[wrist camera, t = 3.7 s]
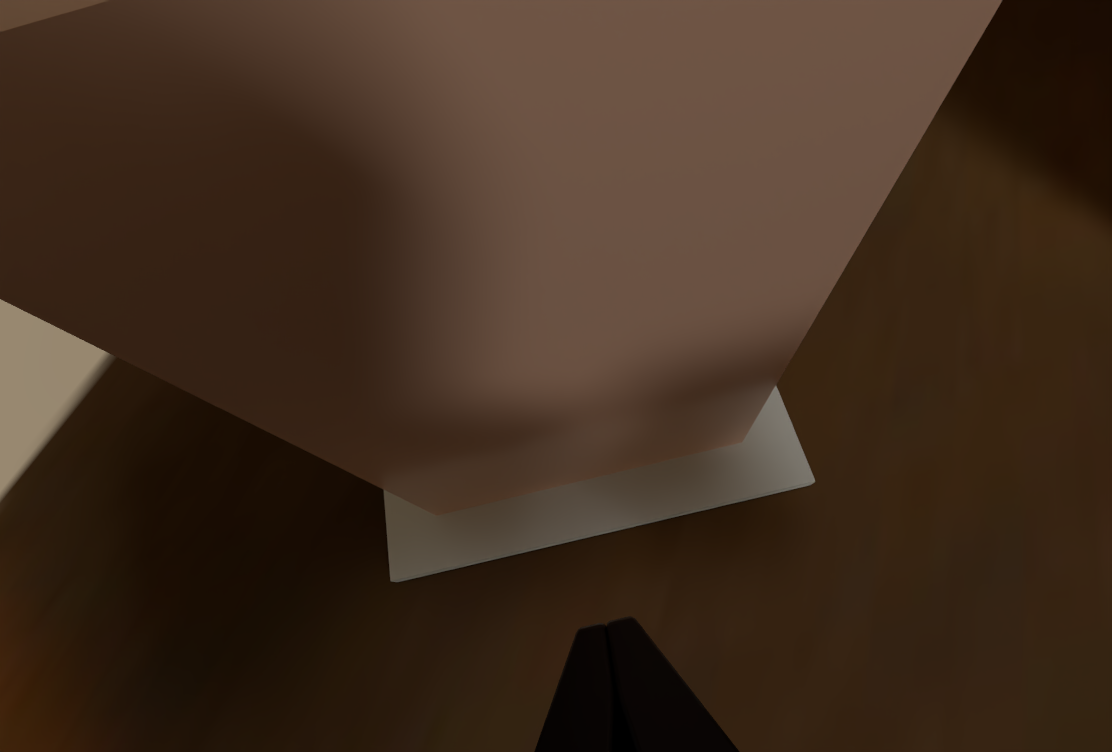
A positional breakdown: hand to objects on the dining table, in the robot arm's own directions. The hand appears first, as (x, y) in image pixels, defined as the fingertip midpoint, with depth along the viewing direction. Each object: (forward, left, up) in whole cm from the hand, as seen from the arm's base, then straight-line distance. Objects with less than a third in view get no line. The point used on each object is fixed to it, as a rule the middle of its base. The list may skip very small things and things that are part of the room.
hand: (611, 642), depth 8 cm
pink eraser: (+1, -5, -7) cm, 8 cm away
